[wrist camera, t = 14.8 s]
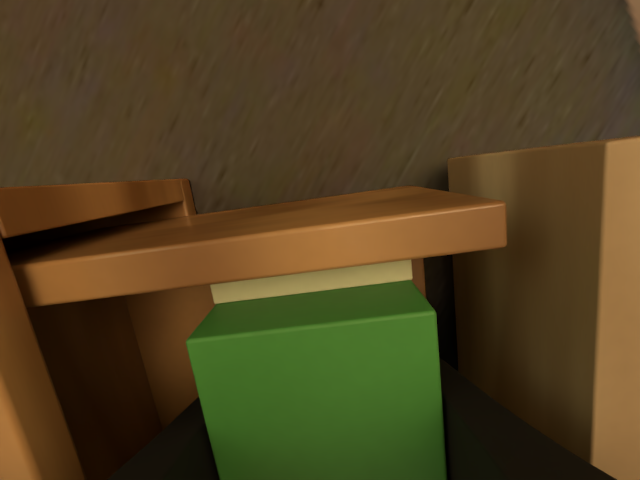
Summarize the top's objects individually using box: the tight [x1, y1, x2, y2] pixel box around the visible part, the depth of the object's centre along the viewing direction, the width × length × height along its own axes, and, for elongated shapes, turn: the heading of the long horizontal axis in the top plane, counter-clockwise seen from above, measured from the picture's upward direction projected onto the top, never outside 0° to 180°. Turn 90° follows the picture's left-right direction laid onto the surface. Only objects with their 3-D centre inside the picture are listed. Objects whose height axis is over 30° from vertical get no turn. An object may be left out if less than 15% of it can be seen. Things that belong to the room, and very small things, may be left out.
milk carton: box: [186, 260, 447, 480], centre depth 8 cm, size 8×4×4 cm, turn 8°
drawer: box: [6, 136, 640, 480], centre depth 9 cm, size 18×11×6 cm, turn 98°
